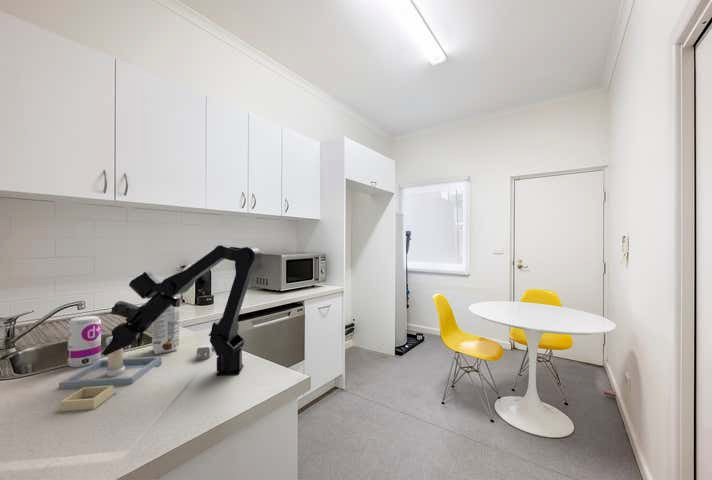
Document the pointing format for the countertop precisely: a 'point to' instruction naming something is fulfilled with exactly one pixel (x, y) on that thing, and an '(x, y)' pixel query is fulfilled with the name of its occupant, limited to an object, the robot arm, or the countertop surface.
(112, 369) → the pale spool-shaped piece
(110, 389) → the yellow rectangular frame
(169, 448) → the countertop surface
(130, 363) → the tray
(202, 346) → the usb wall charger
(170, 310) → the juice carton
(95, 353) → the supplement can
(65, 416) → the countertop surface
